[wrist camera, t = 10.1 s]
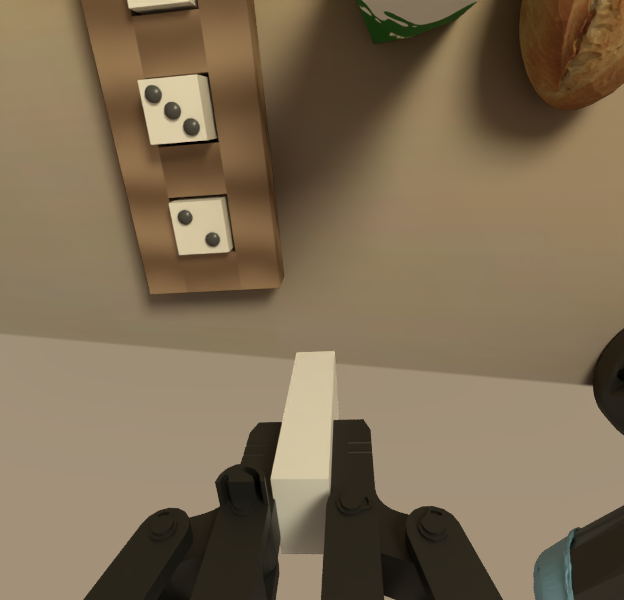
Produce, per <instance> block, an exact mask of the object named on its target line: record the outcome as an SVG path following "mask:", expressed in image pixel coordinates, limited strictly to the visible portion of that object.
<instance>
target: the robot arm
mask: <svg viewBox="0 0 624 600" xmlns="http://www.w3.org/2000/svg"><path fill="white" fill-rule="evenodd" d="M593 391H594V397H595V400H596V403H597V405H598V407H599V409H600V410H601V412H602V413H603V414H604V416H605V417H606V418H607V419H608V420H609V421H610V422H611V424H612V425H613V426H614V427H615V428H616V429H617V430H618V431H619V432H620V433H621V434H623V435H624V330H623V331H622V332H620V333H619V334H618V335H617V336H616V337H615V338H614V339H613V341H612V342H611V343H610V344H609V345H608V347H607V348H606V349H605V351H604V352H603V354H602V356H601V358H600V360H599V362H598V364H597V367H596V370H595V374H594V379H593ZM338 410H339V407H338V393H337V379H336V364H335V351H325V352H297V353H296V358H295V363H294V368H293V372H292V378H291V382H290V387H289V392H288V397H287V402H286V406H285V411H284V417H283V421H282V422H267V423H258V424H257V426H256V427H255V428H254V429H253V430H252V431H251V432H250V435H249V438H248V441H247V446H246V448H245V452H244V456H243V458H242V461H241V464H238V465H234V466H232V467H230V468H227V469H226V470H225V471H224V472H222V473H221V474H220V475H219V477H218V478H217V480H216V481H215V484H216V488H217V493H218V497H219V502H220V507H218V508H216V509H215V510H213V511H210V512H208V513H205V514H201V515H198V516H194V517H190V518H189V517H188V516H187V514H186V512H185V511H183V510H180V509H178V508H167V509H163V510H160V511H158V512H156V513H154V514H153V515H151V516H149V517H148V518H147V519H146V520H145V521H144V522H143V523H142V524H141V525H140V527H139V528H138V529H137V531H136V532H135V533H134V535H133V536H132V537H131V538H130V540H129V541H128V542H127V544H126V545H125V546H124V548H123V549H122V550H121V551H120V553H119V554H118V556H117V557H116V558H115V559H114V561H113V562H112V563H111V564H110V566H109V567H108V568H107V570H106V571H105V572H104V574H103V575H102V576H101V577H100V579H99V580H98V581H97V583H96V584H95V585H94V587H93V588H92V589H91V590H90V592H89V593H88V594H87V596H86V597H85V598H84V600H276V593H277V586H278V578H279V563H278V553H279V546H280V545H281V552H282V554H324V556H323V574H322V592H321V600H384V596H387V597H390V598H393V599H395V600H503V599H502V597H501V596H500V594H499V592H498V590H497V588H496V587H495V585H494V583H493V581H492V580H491V578H490V576H489V574H488V573H487V571H486V569H485V567H484V566H483V564H482V562H481V560H480V559H479V557H478V555H477V554H476V552H475V550H474V548H473V546H472V545H471V543H470V541H469V539H468V538H467V536H466V534H465V532H464V530H463V529H462V527H461V525H460V524H459V522H458V521H457V520H456V518H455V517H454V516H453V515H452V514H450V513H449V512H447V511H445V510H444V509H441V508H437V507H434V506H426V507H420V508H418V509H415V510H414V511H413V512H412V513H411V514H410V515H408V514H404V513H400V512H398V511H395V510H392V509H390V508H389V507H387V506H386V505H384V504H383V503H382V502H381V501H380V499H379V498H378V496H377V494H376V491H375V483H374V470H373V457H372V446H371V445H372V444H371V431H370V429H369V427H368V426H367V424H366V423H365V421H364V420H363V419H361V420H338V413H339V412H338ZM534 593H535V599H536V600H624V506H622V507H620V508H618V509H616V510H614V511H613V512H611V513H609V514H607V515H605V516H603V517H602V518H600V519H598V520H596V521H594V522H592V523H590V524H588V525H587V526H585V527H583V528H579V527H578V528H575V529H573V530H572V531H570V532H569V534H568V536H567V537H565V538H564V539H562V540H561V541H559V542H558V543H556V544H554V545H553V546H551V547H550V548H548V549H546V550H545V551H544V552H542V553H541V555H540V556H539V558H538V559H537V561H536V563H535V567H534Z"/></svg>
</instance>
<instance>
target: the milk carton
mask: <svg viewBox="0 0 624 600" xmlns="http://www.w3.org/2000/svg"><path fill="white" fill-rule="evenodd" d="M478 1H479V0H357V3H358V6H359V9H360V11H361V13H362V16H363V18H364V20H365V23H366V25H367V28H368V30H369V33H370V35H371V38H372V40H373V43H374V44H376V43H382V42H387V41H393V40H398V39H404V38H409V37H413V36H415V35H418V34H420V33H423V32H426V31H428V30H431V29H434V28H436V27H439V26H441V25H444V24H446V23H449V22H451V21H454V20H456V19H458V18H459V17H460V16H461V15H462V14H464V13H465V12H466V11H467V10H468V9H469V8H471V7H472V6H473V5H474V4H475V3H476V2H478Z"/></svg>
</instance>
